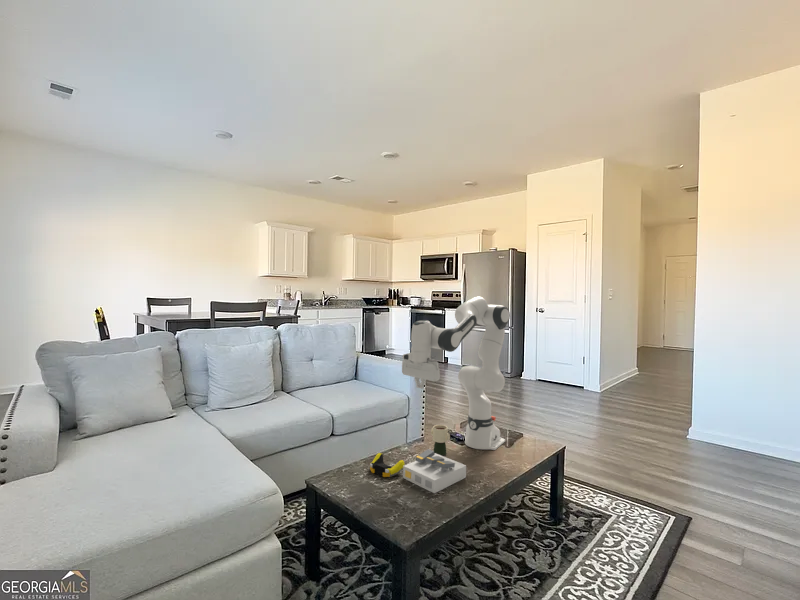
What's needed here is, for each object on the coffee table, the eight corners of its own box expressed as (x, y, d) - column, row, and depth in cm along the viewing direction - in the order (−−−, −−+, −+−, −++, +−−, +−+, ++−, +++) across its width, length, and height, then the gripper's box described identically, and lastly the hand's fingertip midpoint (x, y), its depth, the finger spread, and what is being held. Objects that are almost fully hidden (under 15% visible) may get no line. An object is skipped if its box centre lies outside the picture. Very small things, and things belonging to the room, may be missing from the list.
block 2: (447, 464, 164) (448, 460, 164) (454, 467, 161) (455, 463, 162) (435, 465, 158) (436, 461, 159) (442, 468, 156) (442, 463, 156)
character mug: (453, 455, 187) (454, 428, 187) (444, 460, 182) (445, 431, 181) (435, 449, 194) (436, 422, 194) (426, 453, 189) (426, 426, 189)
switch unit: (434, 464, 177) (435, 450, 177) (465, 477, 165) (466, 462, 165) (402, 478, 163) (402, 462, 163) (433, 493, 151) (434, 477, 151)
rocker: (437, 459, 168) (438, 455, 168) (444, 462, 165) (444, 458, 166) (425, 461, 162) (425, 457, 162) (431, 464, 160) (432, 460, 160)
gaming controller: (379, 463, 177) (364, 471, 169) (379, 451, 177) (364, 458, 169) (406, 473, 168) (392, 481, 160) (406, 460, 168) (392, 468, 160)
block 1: (428, 452, 172) (428, 448, 172) (434, 454, 169) (434, 451, 169) (415, 460, 166) (415, 456, 166) (421, 463, 164) (421, 459, 164)
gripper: (443, 359, 171) (442, 391, 172) (409, 353, 186) (408, 382, 186) (433, 360, 167) (433, 393, 167) (399, 354, 182) (399, 384, 182)
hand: (420, 387), depth 177 cm, fingers closed
